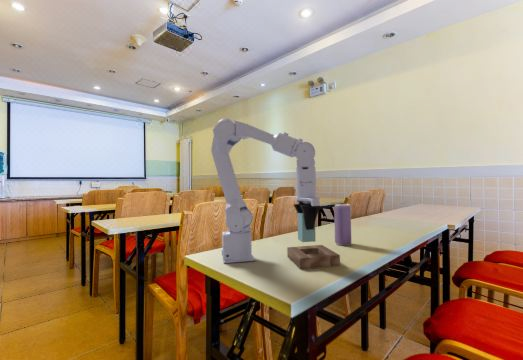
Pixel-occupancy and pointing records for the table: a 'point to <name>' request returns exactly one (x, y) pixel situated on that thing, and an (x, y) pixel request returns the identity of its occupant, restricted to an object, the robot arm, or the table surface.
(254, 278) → the table surface
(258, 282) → the table surface
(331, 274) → the table surface
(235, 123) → the robot arm
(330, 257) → the well block
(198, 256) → the table surface
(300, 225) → the bracket post
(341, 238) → the beverage can
